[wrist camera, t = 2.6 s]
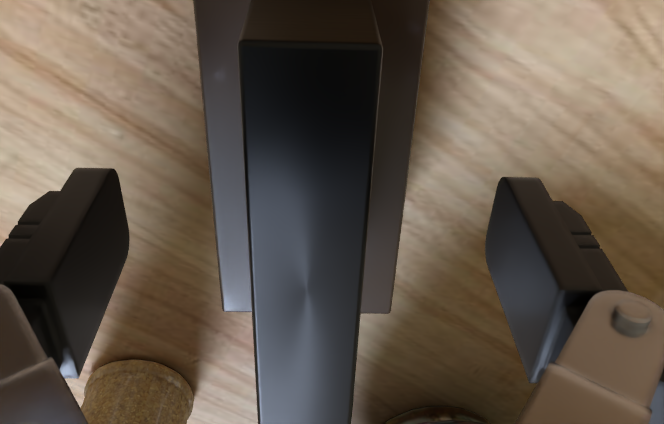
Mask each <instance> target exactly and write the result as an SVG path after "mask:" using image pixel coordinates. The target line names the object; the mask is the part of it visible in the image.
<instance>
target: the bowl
mask: <svg viewBox="0 0 664 424" xmlns="http://www.w3.org/2000/svg"><path fill="white" fill-rule="evenodd" d="M385 424H490V422H489V421H488V420H487V419H485V418H483V417H481V416H479V415H477V414H476V413H473V412H471V411H468V410H465V409H462V408H456V407H448V406H434V407H425V408H419V409H414V410H411V411H408V412H406V413H403V414H401V415H398V416H396V417H394V418H392V419H390V420H389V421H387V422H386V423H385Z"/></svg>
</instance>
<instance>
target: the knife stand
mask: <svg viewBox="0 0 664 424" xmlns="http://www.w3.org/2000/svg"><path fill="white" fill-rule="evenodd" d="M250 1H251V0H193V4H194V14H195V25H196V36H197V46H198V57H199V67H200V78H201V89H202V99H203V110H204V121H205V131H206V142H207V153H208V163H209V174H210V184H211V195H212V206H213V216H214V227H215V238H216V248H217V259H218V269H219V280H220V291H221V301H222V309H223V311H224V312H252V303H251V285H250V267H249V249H248V231H247V213H246V195H245V177H244V159H243V141H242V123H241V105H240V87H239V69H238V51H237V44H238V41H239V38H240V34H241V31H242V28H243V24H244V21H245V18H246V14H247V11H248V8H249V5H250ZM371 2H372V6H373V10H374V14H375V18H376V22H377V26H378V30H379V34H380V38H381V42H382V46H383V57H382V69H381V81H380V92H379V104H378V116H377V127H376V139H375V150H374V162H373V174H372V185H371V197H370V209H369V220H368V232H367V243H366V255H365V267H364V278H363V290H362V302H361V313H381V314H388V313H390V311H391V305H392V297H393V289H394V281H395V273H396V265H397V257H398V249H399V241H400V233H401V225H402V218H403V210H404V202H405V194H406V186H407V178H408V170H409V162H410V154H411V146H412V138H413V130H414V122H415V114H416V106H417V98H418V90H419V82H420V74H421V66H422V58H423V50H424V42H425V34H426V26H427V18H428V10H429V2H430V0H371Z"/></svg>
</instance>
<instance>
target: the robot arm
mask: <svg viewBox="0 0 664 424" xmlns="http://www.w3.org/2000/svg"><path fill="white" fill-rule="evenodd" d="M599 247H600V245H599V244H598V242H597V240H596V239H595V237H594V235H591V231H590V229H589V227H588V226H587V224H586V222H585V221H584V219H583V218H582V216H581V215H580V214H578V213H577V212H576V211H575V210H573V209H572V208H571V207H569V206H568V205H567V204H566V203H564V202H563V201H552V199H551V197H550V196H549V194H548V192H547V190H546V188H545V187H544V185H543V183H542V181H541V180H540V179H539V178H526V177H502V178H501V179H500V181H499V183H498V186H497V190H496V194H495V199H494V203H493V208H492V212H491V217H490V221H489V225H488V230H487V234H486V241H485V255H486V262H487V265H488V268H489V271H490V274H491V277H492V279H493V282H494V285H495V288H496V291H497V294H498V296H499V299H500V302H501V305H502V308H503V310H504V313H505V316H506V319H507V322H508V324H509V327H510V330H511V333H512V336H513V338H514V341H515V344H516V347H517V350H518V352H519V355H520V358H521V361H522V364H523V366H524V369H525V372H526V375H527V378H528V380H529V383H538V384H537V385H536V387H535V389H534V391H533V392H532V394H531V396H530V398H529V399H528V401H527V403H526V405H525V406H524V408H523V410H522V412H521V413H520V415H519V417H518V419H517V421H516V422H515V424H664V310H663V309H662V308H661V307H660V306H658V305H657V304H655V303H654V302H652V301H650V300H649V299H647V298H645V297H642V296H640V295H637V294H634V293H631V292H628V291H627V289H626V287H625V286H624V284H623V282H622V281H621V279H620V278H619V276H618V274H617V273H616V271H615V269H614V268H613V266H612V265H611V263H610V261H609V260H608V258H607V257H606V255H605V253H604V252H603V250H602V249H600V248H599ZM128 250H129V228H128V223H127V218H126V213H125V207H124V202H123V197H122V192H121V187H120V182H119V177H118V174H117V172H116V170H115V169H110V168H76V169H74V170H73V172H72V173H71V175H70V177H69V178H68V180H67V181H66V183H65V184H64V186H63V188H62V189H61V191H49V192H47V193H46V194H45V195H43V196H42V197H40V198H39V199H37V200H36V201H35V202H33V203H32V204H30V205H29V206H28V208H27V209H26V211H25V212H24V214H23V215H22V217H21V218H20V219H19V221H18V225H15V227H14V228H13V230H12V231H11V233H10V234H9V239H6V240H5V241H4V243H3V244H2V246H1V247H0V424H88V422H87V420H86V418H85V416H84V414H83V412H82V411H81V409H80V407H79V405H78V403H77V401H76V399H75V398H74V396H73V394H72V392H71V390H70V388H69V387H68V385H67V383H66V381H65V379H64V378H79V376H80V373H81V371H82V368H83V366H84V363H85V361H86V358H87V356H88V353H89V351H90V348H91V346H92V343H93V341H94V338H95V336H96V333H97V331H98V328H99V326H100V323H101V321H102V319H103V316H104V314H105V311H106V309H107V306H108V304H109V301H110V299H111V296H112V294H113V291H114V289H115V286H116V284H117V281H118V279H119V276H120V274H121V271H122V269H123V266H124V264H125V261H126V259H127V255H128Z"/></svg>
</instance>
